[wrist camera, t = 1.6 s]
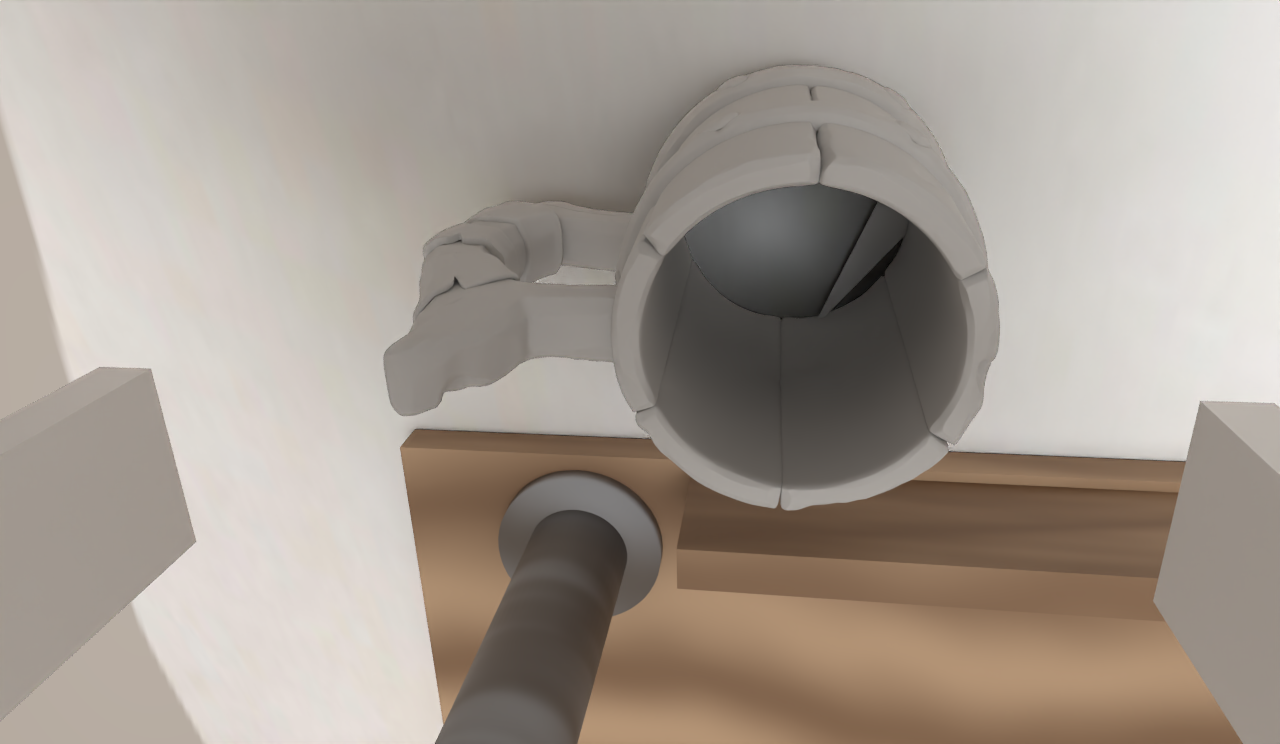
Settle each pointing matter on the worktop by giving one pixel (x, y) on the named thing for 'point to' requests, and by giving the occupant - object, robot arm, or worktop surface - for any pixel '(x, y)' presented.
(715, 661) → the wooden tray with post
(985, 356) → the mug
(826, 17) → the worktop surface
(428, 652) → the worktop surface
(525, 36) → the worktop surface
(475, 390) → the worktop surface
